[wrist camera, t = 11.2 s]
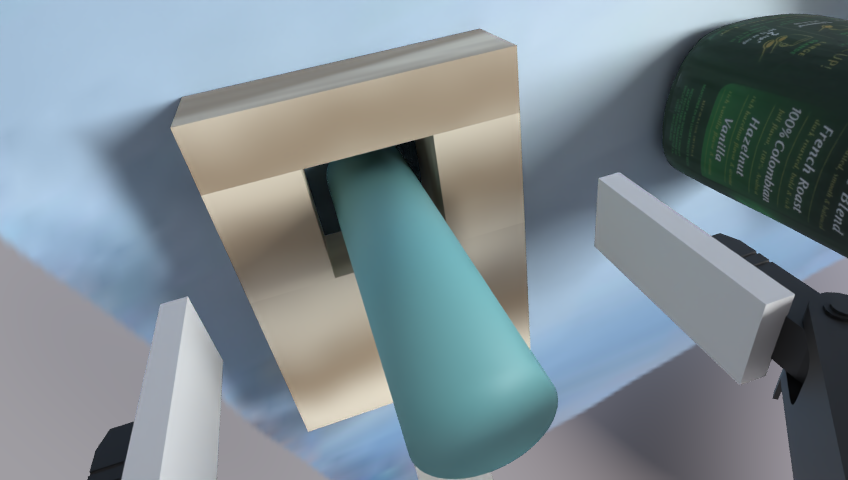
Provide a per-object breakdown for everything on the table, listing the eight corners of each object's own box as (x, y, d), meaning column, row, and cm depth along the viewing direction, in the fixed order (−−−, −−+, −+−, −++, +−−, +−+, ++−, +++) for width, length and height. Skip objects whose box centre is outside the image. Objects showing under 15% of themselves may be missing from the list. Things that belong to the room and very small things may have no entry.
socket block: (181, 97, 19) (170, 127, 16) (480, 28, 21) (516, 45, 18) (302, 380, 28) (308, 432, 25) (503, 314, 30) (530, 355, 27)
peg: (316, 149, 22) (392, 403, 10) (397, 127, 22) (556, 346, 11) (338, 219, 24) (422, 497, 12) (412, 198, 24) (558, 445, 13)
